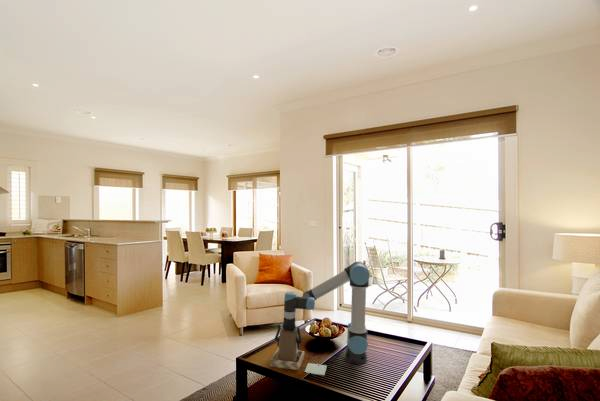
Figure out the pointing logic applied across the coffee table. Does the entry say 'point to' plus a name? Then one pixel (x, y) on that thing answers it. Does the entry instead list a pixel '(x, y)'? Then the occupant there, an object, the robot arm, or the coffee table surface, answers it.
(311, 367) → the pad
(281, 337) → the wooden block
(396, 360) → the coffee table surface
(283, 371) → the coffee table surface
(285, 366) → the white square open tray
